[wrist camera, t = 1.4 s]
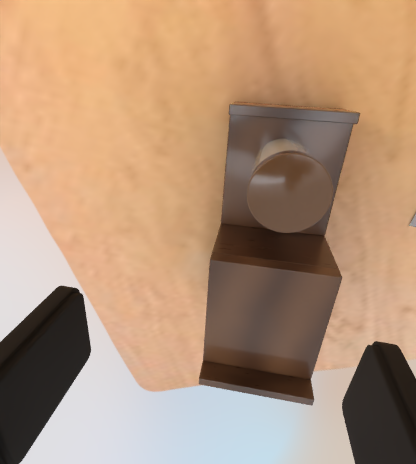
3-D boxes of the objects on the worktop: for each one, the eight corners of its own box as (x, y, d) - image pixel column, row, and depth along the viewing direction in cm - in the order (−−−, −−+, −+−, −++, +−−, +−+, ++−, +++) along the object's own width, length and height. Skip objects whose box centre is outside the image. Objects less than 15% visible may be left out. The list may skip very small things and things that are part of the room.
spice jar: (320, 139, 24) (342, 157, 18) (307, 201, 27) (322, 237, 20) (254, 134, 25) (252, 149, 18) (247, 195, 28) (242, 228, 21)
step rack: (344, 109, 27) (406, 123, 15) (296, 307, 37) (312, 406, 25) (234, 101, 28) (215, 109, 16) (217, 295, 38) (198, 384, 27)
